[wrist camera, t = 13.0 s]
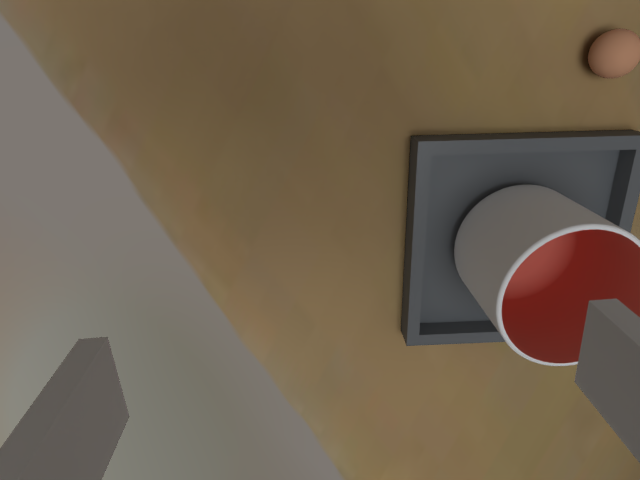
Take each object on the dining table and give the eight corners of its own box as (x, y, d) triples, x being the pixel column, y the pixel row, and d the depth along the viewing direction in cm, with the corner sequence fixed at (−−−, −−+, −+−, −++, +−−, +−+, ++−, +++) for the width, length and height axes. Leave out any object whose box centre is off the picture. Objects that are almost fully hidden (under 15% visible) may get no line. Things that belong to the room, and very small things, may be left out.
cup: (548, 156, 37) (634, 194, 28) (587, 260, 40) (674, 324, 31) (429, 218, 38) (472, 273, 29) (476, 313, 42) (528, 390, 33)
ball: (583, 29, 34) (610, 28, 31) (627, 28, 34) (658, 27, 31) (575, 77, 35) (600, 80, 32) (618, 76, 36) (647, 79, 33)
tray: (410, 135, 36) (418, 141, 34) (631, 129, 37) (653, 135, 35) (400, 330, 43) (406, 345, 41) (589, 322, 43) (605, 337, 41)
